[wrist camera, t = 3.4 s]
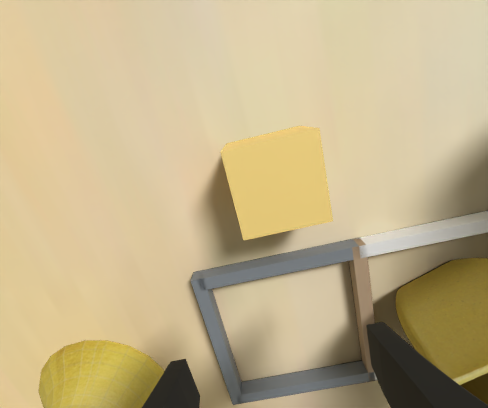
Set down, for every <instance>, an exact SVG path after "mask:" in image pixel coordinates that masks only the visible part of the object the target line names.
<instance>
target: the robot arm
mask: <svg viewBox="0 0 488 408" xmlns="http://www.w3.org/2000/svg"><path fill="white" fill-rule="evenodd" d="M366 328H367V336H368V343H369V351H370V359H371V366H372V368H373V370H374V373H375V375H376V377H377V380H378V382H379V384H380V386H381V389H382V391H383V393H384V395H385V397H386V399H387V401H388V403H389V405H390V406H391V408H488V405H487V404H486V403H484V402H483V401H481V400H480V399H478V398H477V397H476V396H474V395H473V394H471V393H470V392H469V391H467V390H466V389H465V388H463V387H462V386H460V385H459V384H458V383H456V382H455V381H454V380H452V379H451V378H450V377H448V376H447V375H446V374H445V373H443V372H442V371H441V370H439V369H438V368H437V367H436V366H434V365H433V364H432V363H431V362H429V361H428V360H427V359H426V358H424V357H423V356H422V355H421V354H420V353H418V352H417V351H416V350H415V349H414V348H412V347H411V346H410V345H409V344H408V343H407V342H405V341H404V340H403V339H402V338H401V337H400V336H399V335H397V334H396V333H395V332H394V331H393V330H392V329H391V328H390V327H388V326H387V325H386V324H385V323H383V322H379V323H373V324H368V325H366ZM199 403H200V395H199V392H198V390H197V387H196V385H195V382H194V379H193V377H192V374H191V372H190V369H189V367H188V364H187V362H186V359H182V360H177V361H172V362H170V364H169V365H168V367H167V368H166V370H165V372H164V373H163V375H162V376H161V378H160V380H159V381H158V383H157V384H156V386H155V388H154V389H153V391H152V392H151V394H150V396H149V397H148V399H147V400H146V402H145V403H144V405H143V406H142V408H199Z"/></svg>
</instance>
